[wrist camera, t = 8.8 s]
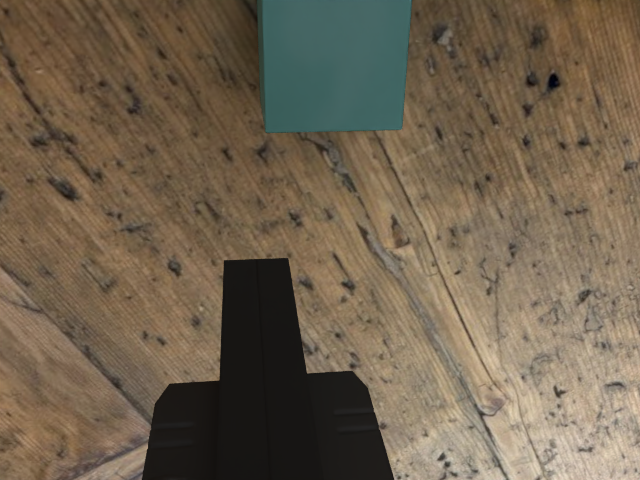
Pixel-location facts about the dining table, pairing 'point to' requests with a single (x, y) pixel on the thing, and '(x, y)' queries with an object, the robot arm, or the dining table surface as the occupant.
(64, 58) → the dining table surface
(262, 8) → the block
